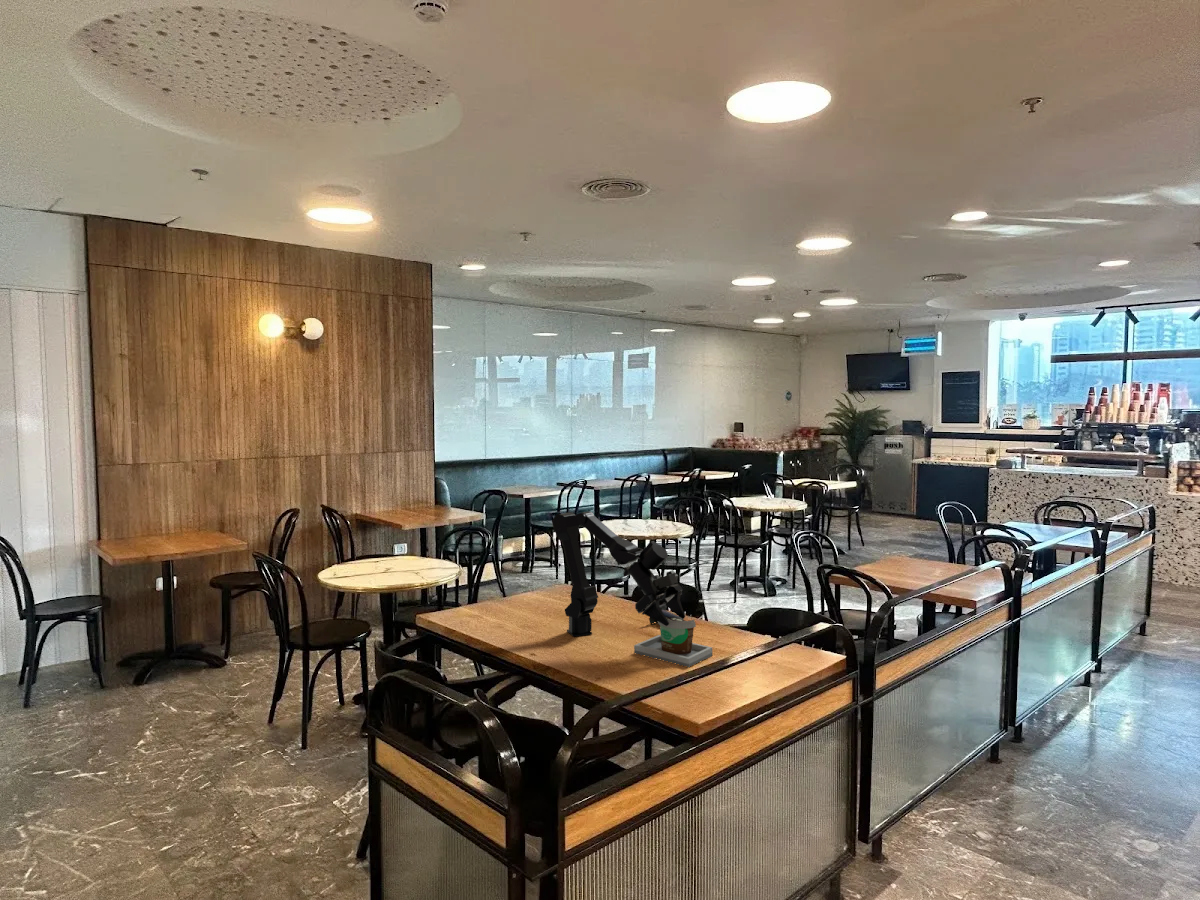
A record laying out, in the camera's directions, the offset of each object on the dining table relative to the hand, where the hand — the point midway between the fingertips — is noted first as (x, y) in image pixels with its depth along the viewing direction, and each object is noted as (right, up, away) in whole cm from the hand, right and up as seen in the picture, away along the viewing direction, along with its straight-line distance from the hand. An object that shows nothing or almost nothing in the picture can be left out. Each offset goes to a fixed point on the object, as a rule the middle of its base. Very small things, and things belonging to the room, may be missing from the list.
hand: (676, 621), depth 216 cm
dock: (-1, -10, +1) cm, 10 cm away
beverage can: (+1, -9, +30) cm, 32 cm away
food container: (-1, -9, +1) cm, 9 cm away
